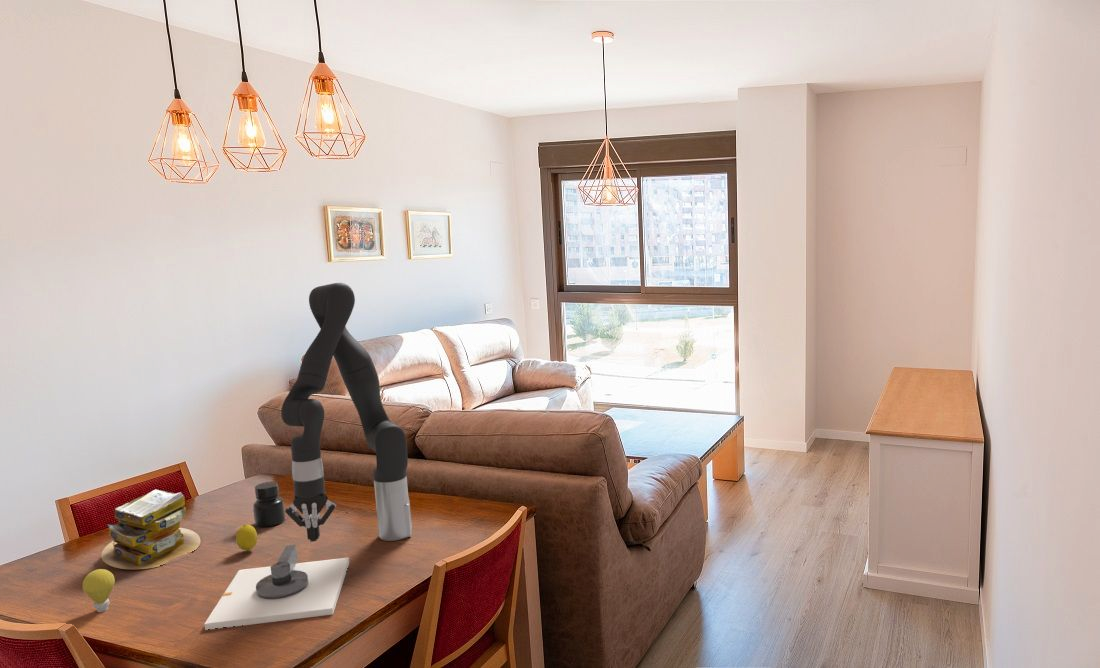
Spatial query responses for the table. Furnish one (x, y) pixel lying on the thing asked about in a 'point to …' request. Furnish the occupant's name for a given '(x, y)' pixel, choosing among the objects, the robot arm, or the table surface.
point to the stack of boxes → (149, 532)
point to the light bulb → (99, 587)
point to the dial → (283, 577)
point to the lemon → (246, 537)
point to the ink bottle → (268, 505)
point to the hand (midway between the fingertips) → (313, 540)
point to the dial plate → (312, 601)
